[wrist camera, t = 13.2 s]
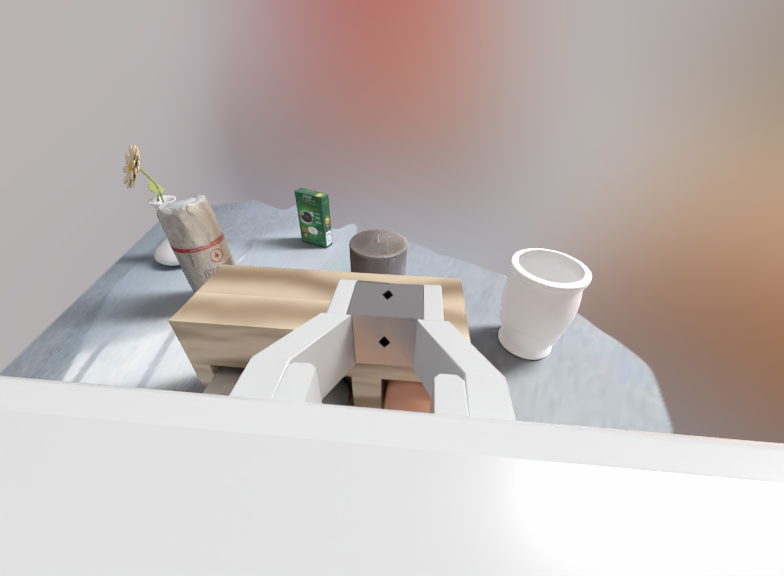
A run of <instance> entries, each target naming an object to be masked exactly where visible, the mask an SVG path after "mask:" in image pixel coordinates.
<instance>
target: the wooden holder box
mask: <svg viewBox="0 0 784 576" xmlns="http://www.w3.org/2000/svg"><path fill="white" fill-rule="evenodd" d="M341 279H347V280H357V281H358V280H362V281H374V282H386V283H395V284H416V285H441V287H442V301H443V315H444V321H449V322H450V323H451V324H452V325H453V326H454V327H455V328H456V329H457V330H458V331H459V332H460V333H461V334H462V335H463V336H464V337H465V338H466V339H467V340H468V341H469V342H470V336H469V329H468V323H467V316H466V310H465V303H464V296H463V290H462V283H461V279H456V278H439V277H422V276H405V275H389V274H372V273H355V272H338V271H322V270H305V269H288V268H272V267H255V266H238V265H222V266H221V268H220V269H219V270H218V271H217V272H216V273H215V274H214V275H213V276H212V277H211V278H210V279H209V280H208V281H207V282H206V283H205V284H204V285H203V286H202V287H201V288H200V289H199V290H198V291H197V292H196V293H195V294H194V295H193V296H192V297H191V298H190V299H189V300H188V301H187V302H186V303H185V304H184V305H183V306H182V307H181V308H180V309H179V310H178V311H177V312H176V313H175V314H174V315H173V316H172V317H171V318H170V319H169V320H168V321H169V323H170V325H171V326H172V328H173V330H174V332H175V334H176V336H177V338H178V340H179V341H180V343H181V345H182V347H183V349H184V351H185V353H186V355H187V357H188V358H189V360H190V362H191V364H192V366H193V368H194V370H195V372H196V373H197V375H198V377H199V379H200V381H201V383H202V385H203V387H204V389H206V387H207V386H208V384H209V383H210V381H211V380H212V378H213V377H214V375H215V374H216V372H217V371H218V369H219V368H220V366H229V367H241V368H246V366H247V364H248V363H249V361H250V359H251V358H252V357H253V356H255V355H256V354H258V353H259V352H261V351H262V350H264V349H265V348H267V347H269V346H270V345H272V344H273V343H275V342H276V341H278V340H279V339H281V338H283V337H284V336H286V335H287V334H289V333H290V332H292V331H294V330H295V329H297V328H298V327H300V326H301V325H303V324H304V323H306V322H308V321H309V320H311V319H312V318H314V317H315V316H317V315H318V314H320V313H326V312H327V309H328V307H329V304H330V302H331V299H332V297H333V294H334V292H335V289H336V287H337V284H338V282H339V281H340V280H341ZM344 377H345V378H346V379H347V380H348V381H349V383H350V392H349V397H348V401H347V405H346V406H355V407H366V408H378V409H384V407H385V399H386V391H387V383H388V379H389V380H401V381H413V382H421V381H420V379H419V377H418V376H417V374H416V372H415V371H414V369H413V367H404V366H394V365H385V364H366V363H355V365H354V366H353V368H352V369H351V370H350V371H349V372H348V373H347V374H346V375H345V376H344Z"/></svg>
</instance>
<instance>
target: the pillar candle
mask: <svg viewBox="0 0 784 576" xmlns="http://www.w3.org/2000/svg"><path fill="white" fill-rule="evenodd" d="M349 246H350V261H351V272H355V273H372V274H389V275H405V276H406V257H407V241H406V238H405V237H404V236H401V235H400V234H398V233H396V232H392V231H389V230H383V229H382V230H379V229H378V230H377V229H376V230H368V231H363V232H361V233H358V234H356V235H355V236H353V238H352V239H351V240H350V244H349Z"/></svg>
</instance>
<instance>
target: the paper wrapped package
mask: <svg viewBox="0 0 784 576" xmlns="http://www.w3.org/2000/svg"><path fill="white" fill-rule="evenodd" d="M157 217H158V219H159V221H160V223H161V225H162V227H163V230H164V232H165V233H166V235H167V238H168V241H169V244H170V246H171V248H172V250H173V252H174V254H175V256H176V258H177V260H178V262H179V265H180V267H181V268H182V270H183V272H184V274H185V276H186V278H187V280H188V282H189V284H190V286H191V287H192V289H193V292H194V294H195V293H196V292H197V291H198V290H199V289H200V288H201V287H202V286H203V285H204V284H205V283H206V282H207V281H208V280H209V279H210V278H211V277H212V276H213V275H214V274H215V273H216V272H217V271H218V270H219V269H220V268H221V266H222V265H235V264H234V262H233V258H232V256H231V254H230V250H229V248H228V245H227V242H226V240H225V237H224V235H223V233H222V231H221V229H220V226H219V224H218V221H217V218H216V216H215V214H214V212H213V210H212V208H211V207H210V205H209V203H208V201H207V199H206V197H205V196H202V195H197V196H194V197H193V198H189V199H185V200H182V201H176V202H174V203H164V204H161V205H160V206H159V207H158V208H157Z"/></svg>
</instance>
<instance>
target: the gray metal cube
mask: <svg viewBox="0 0 784 576" xmlns="http://www.w3.org/2000/svg"><path fill="white" fill-rule="evenodd" d="M244 369H245V368H241V367H229V366H220V368H219V369H218V371H217V372H216V374H215V375H214V377H213V378H212V380H211V381H210V383H209V384H208V386H207V387H206V389H205V390H204V392H203V394H215V395H227V396H229V395H230V393H231V392H232V390H233V388H234V387H235V385H236V383H237V381H238V380H239V378H240V376H241V375H242V373H243V371H244Z"/></svg>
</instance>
